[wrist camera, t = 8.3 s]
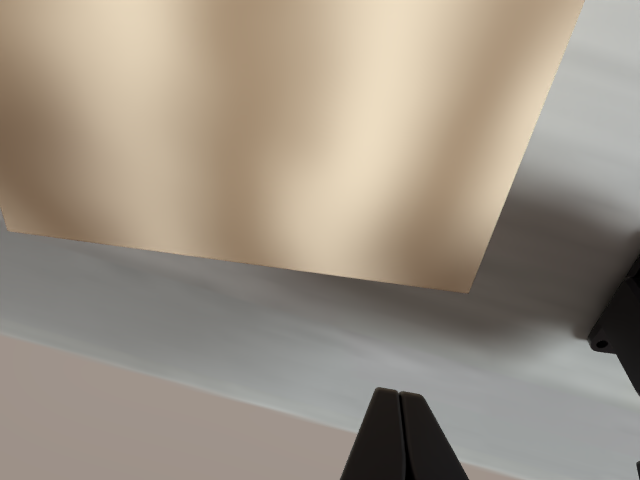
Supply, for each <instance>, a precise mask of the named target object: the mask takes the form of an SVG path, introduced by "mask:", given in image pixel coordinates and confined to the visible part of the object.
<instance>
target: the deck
mask: <svg viewBox="0 0 640 480" xmlns="http://www.w3.org/2000/svg"><path fill="white" fill-rule="evenodd" d="M584 2H585V0H0V207H1V211H2V214H3V217H4V220H5V224H6V227H7V230H8V231H11V232H18V233H25V234H33V235H40V236H48V237H55V238H62V239H70V240H77V241H84V242H92V243H99V244H106V245H114V246H121V247H129V248H136V249H143V250H151V251H158V252H165V253H173V254H180V255H187V256H195V257H202V258H209V259H217V260H224V261H232V262H239V263H246V264H254V265H261V266H268V267H276V268H283V269H290V270H298V271H305V272H313V273H320V274H327V275H335V276H342V277H349V278H357V279H364V280H371V281H379V282H386V283H393V284H401V285H408V286H416V287H423V288H430V289H438V290H445V291H452V292H460V293H467V294H469V291H470V289H471V286H472V284H473V281H474V279H475V276H476V274H477V271H478V268H479V266H480V263H481V261H482V258H483V256H484V253H485V251H486V248H487V246H488V243H489V241H490V238H491V236H492V233H493V231H494V228H495V226H496V223H497V221H498V218H499V216H500V213H501V211H502V208H503V206H504V203H505V201H506V198H507V195H508V193H509V190H510V188H511V185H512V183H513V180H514V178H515V175H516V173H517V170H518V168H519V165H520V163H521V160H522V158H523V155H524V153H525V150H526V148H527V145H528V143H529V140H530V138H531V135H532V133H533V130H534V127H535V125H536V122H537V120H538V117H539V115H540V112H541V110H542V107H543V105H544V102H545V100H546V97H547V95H548V92H549V90H550V87H551V85H552V82H553V80H554V77H555V75H556V72H557V70H558V67H559V65H560V62H561V60H562V57H563V54H564V52H565V49H566V47H567V44H568V42H569V39H570V37H571V34H572V32H573V29H574V27H575V24H576V22H577V19H578V17H579V14H580V12H581V9H582V7H583V4H584Z"/></svg>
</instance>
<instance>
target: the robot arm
mask: <svg viewBox="0 0 640 480" xmlns="http://www.w3.org/2000/svg"><path fill="white" fill-rule="evenodd" d="M587 340H588V343H589V345H590V347H591V349H592V350H594V351H597V352H604V353H612V354H616V355H617V357H618V359H619V361H620V362H621V364H622V366H623V368H624V370H625V372H626V374H627V375H628V377H629V379H630V381H631V383H632V385H633V386H634V388H635V390H636V392H637V393H638V395H639V396H640V255H639V257H638V259H637V260H636V262H635V263H634V265H633V266H632V268H631V270H630V271H629V273H628V274H627V276H626V278H625V279H624V281H623V282H622V284H621V285H620V287H619V289H618V290H617V292H616V293H615V295H614V296H613V298H612V300H611V301H610V303H609V304H608V306H607V308H606V309H605V311H604V312H603V314H602V315H601V317H600V319H599V320H598V322H597V323H596V325H595V327H594V328H593V330H592V331H591V333H590V334H589V336H588V339H587ZM636 465H637V470H638V475H639V480H640V461H638V462H637V463H636ZM340 480H469V479H468V477H467V475H466V473H465V472H464V469H463V468H462V466H461V464H460V462H459V460H458V459H457V457H456V455H455V453H454V451H453V449H452V448H451V446H450V444H449V442H448V440H447V438H446V437H445V435H444V433H443V431H442V429H441V428H440V426H439V424H438V422H437V420H436V418H435V417H434V415H433V413H432V411H431V409H430V408H429V406H428V404H427V402H426V400H425V399H424V397H423V396H422V395H420V394H416V393H410V392H404V391H401V392H399V393H398V392H397V391H396V390H393V389H387V388H381V387H378V388H376V389H375V391H374V393H373V396H372V398H371V401H370V404H369V406H368V409H367V411H366V414H365V416H364V419H363V422H362V424H361V427H360V429H359V432H358V434H357V437H356V440H355V442H354V445H353V447H352V450H351V452H350V455H349V458H348V460H347V463H346V465H345V468H344V470H343V473H342V476H341V478H340Z"/></svg>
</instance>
